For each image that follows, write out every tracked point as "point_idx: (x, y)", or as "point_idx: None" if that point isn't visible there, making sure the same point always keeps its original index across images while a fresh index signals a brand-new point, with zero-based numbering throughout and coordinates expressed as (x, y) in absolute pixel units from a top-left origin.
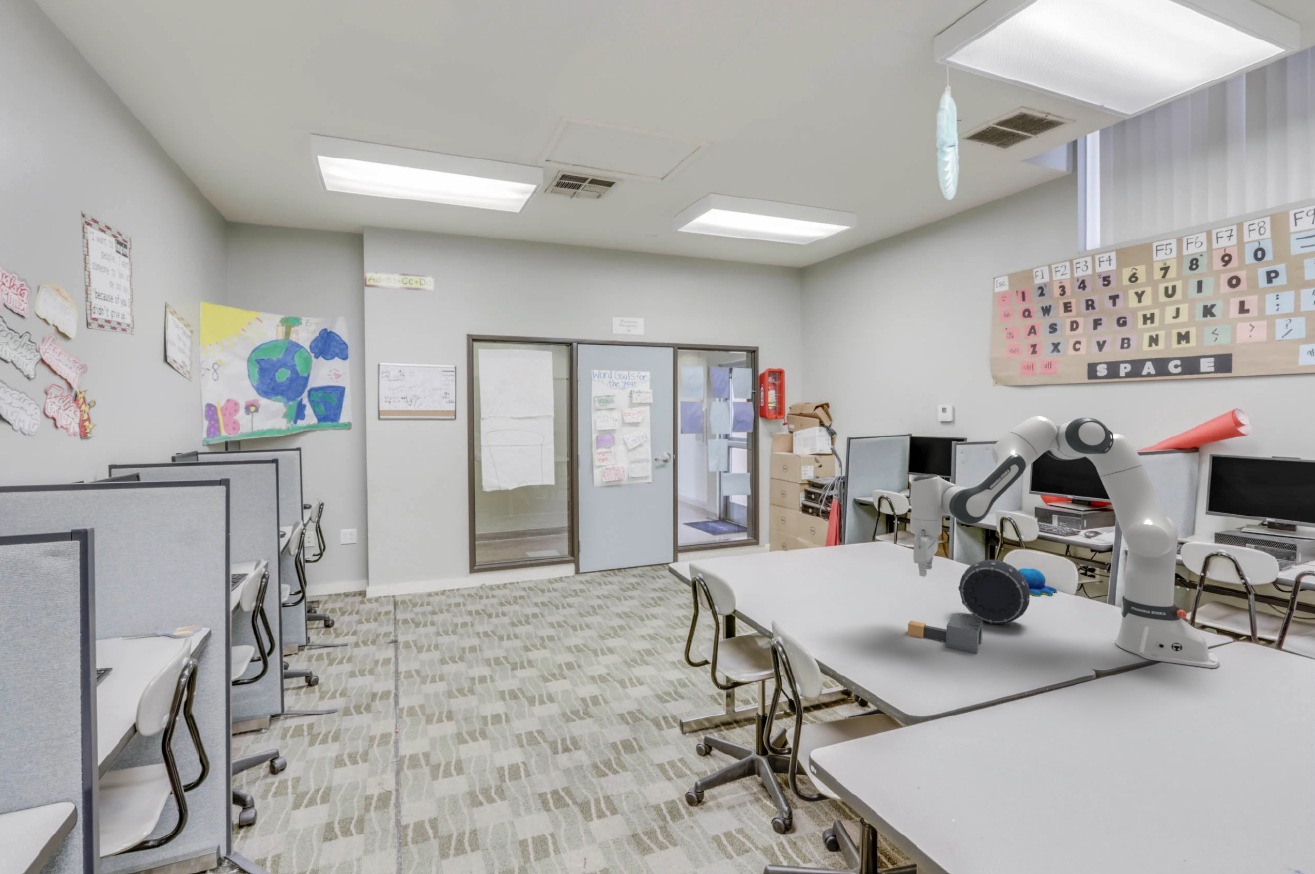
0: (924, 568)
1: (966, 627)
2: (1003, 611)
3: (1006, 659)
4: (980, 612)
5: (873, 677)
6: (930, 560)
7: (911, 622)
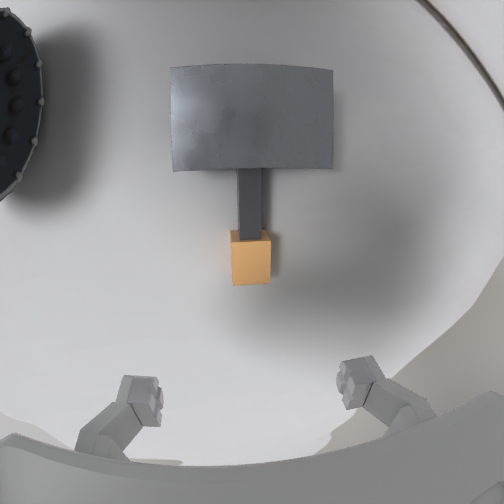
0: (403, 392)
1: (314, 104)
2: (15, 72)
3: (301, 20)
4: (23, 133)
5: (484, 256)
6: (118, 424)
7: (251, 278)
